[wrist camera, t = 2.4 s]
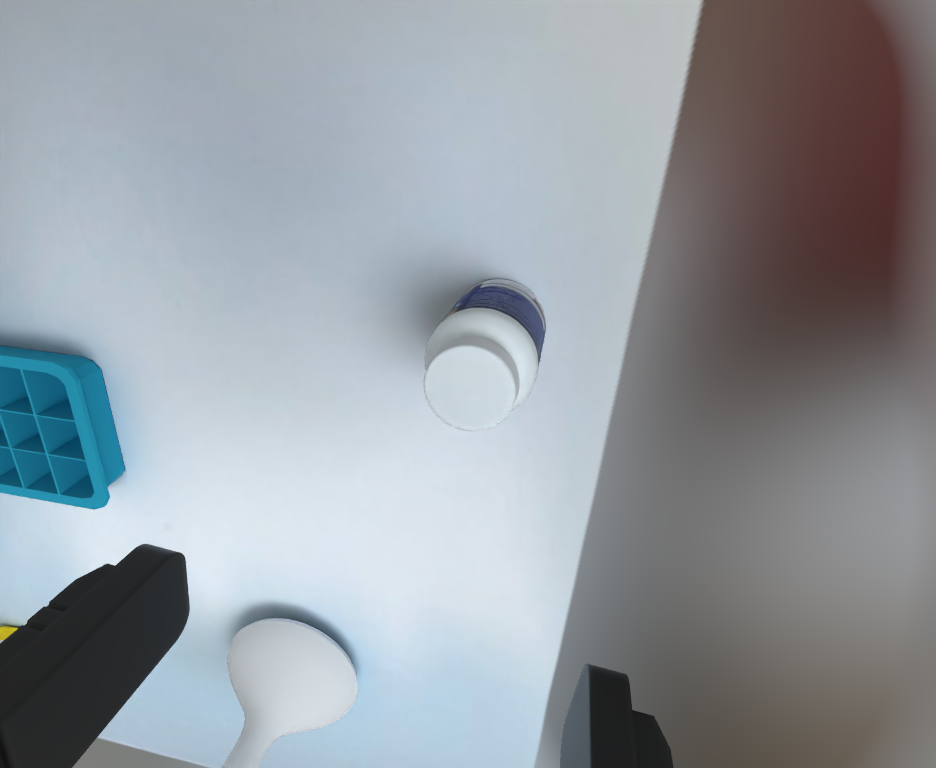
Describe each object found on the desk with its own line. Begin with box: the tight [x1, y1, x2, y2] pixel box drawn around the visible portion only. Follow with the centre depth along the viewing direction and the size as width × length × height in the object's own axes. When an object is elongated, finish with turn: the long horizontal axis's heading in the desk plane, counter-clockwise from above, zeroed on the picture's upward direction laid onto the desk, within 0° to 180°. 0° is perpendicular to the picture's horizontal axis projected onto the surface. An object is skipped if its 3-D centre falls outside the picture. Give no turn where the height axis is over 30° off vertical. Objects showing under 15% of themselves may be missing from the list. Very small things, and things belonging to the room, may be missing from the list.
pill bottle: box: [424, 279, 546, 431], centre depth 27 cm, size 5×5×10 cm
